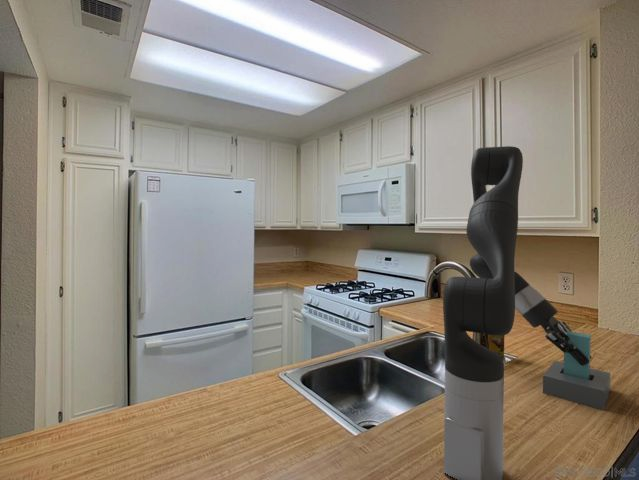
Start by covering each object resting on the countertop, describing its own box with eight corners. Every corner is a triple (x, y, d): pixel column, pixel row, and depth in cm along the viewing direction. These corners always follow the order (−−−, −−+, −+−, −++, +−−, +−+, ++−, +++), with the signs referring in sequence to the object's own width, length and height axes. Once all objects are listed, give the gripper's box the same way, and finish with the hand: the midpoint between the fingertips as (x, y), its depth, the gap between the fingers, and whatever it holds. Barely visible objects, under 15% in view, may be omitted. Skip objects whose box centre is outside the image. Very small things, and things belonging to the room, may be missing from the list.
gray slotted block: (604, 410, 78) (604, 391, 78) (542, 392, 86) (543, 375, 86) (610, 390, 88) (610, 372, 88) (554, 376, 96) (554, 360, 96)
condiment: (505, 363, 106) (505, 325, 106) (475, 358, 110) (475, 321, 110) (505, 355, 112) (506, 319, 112) (477, 351, 116) (477, 316, 116)
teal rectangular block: (587, 385, 84) (589, 337, 84) (563, 379, 88) (564, 333, 87) (589, 381, 86) (590, 335, 86) (565, 375, 90) (566, 330, 90)
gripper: (537, 301, 87) (597, 362, 79) (549, 294, 97) (604, 347, 88) (513, 318, 91) (569, 377, 82) (528, 309, 101) (578, 361, 92)
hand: (587, 361), depth 86 cm, fingers closed on teal rectangular block, 3 cm apart
